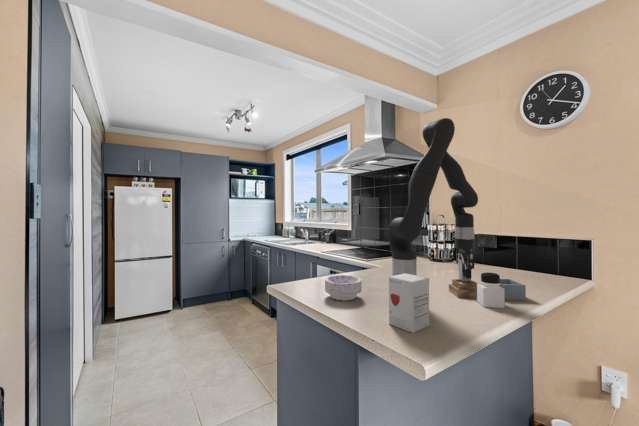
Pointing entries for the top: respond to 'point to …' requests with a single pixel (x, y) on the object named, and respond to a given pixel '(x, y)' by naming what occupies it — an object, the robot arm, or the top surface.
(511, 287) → the bin
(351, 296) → the pale lilac bowl
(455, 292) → the socket block
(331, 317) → the top surface
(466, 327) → the top surface
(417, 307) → the supplement box
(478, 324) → the top surface
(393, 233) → the robot arm
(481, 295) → the medicine bottle
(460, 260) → the strut
